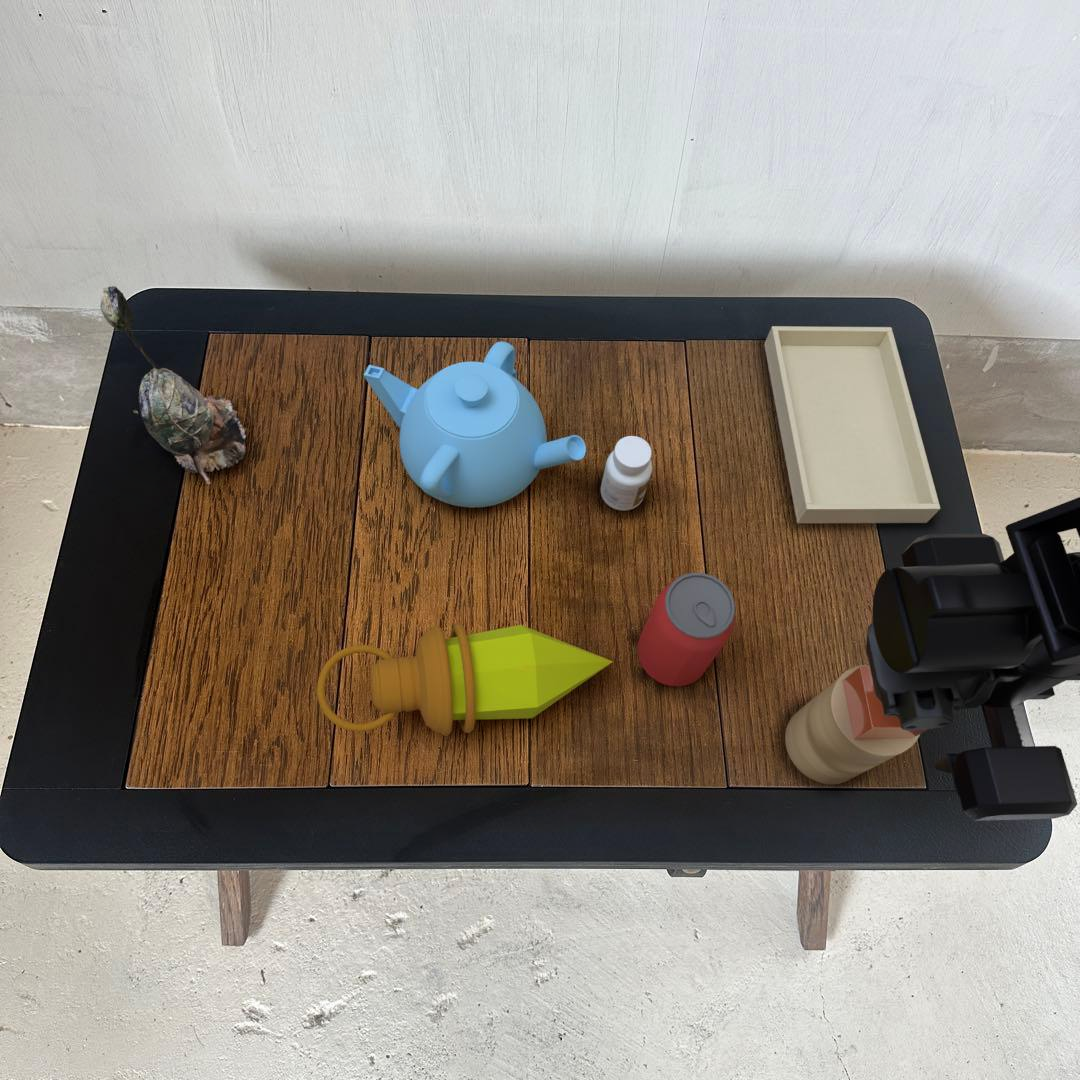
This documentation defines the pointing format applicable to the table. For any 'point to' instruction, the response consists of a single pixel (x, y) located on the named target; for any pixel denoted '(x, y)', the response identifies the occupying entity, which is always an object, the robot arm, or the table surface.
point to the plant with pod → (181, 408)
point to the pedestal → (835, 739)
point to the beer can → (686, 629)
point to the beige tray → (848, 426)
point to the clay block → (870, 710)
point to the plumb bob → (470, 677)
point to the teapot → (472, 430)
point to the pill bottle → (627, 473)
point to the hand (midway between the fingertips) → (926, 703)
